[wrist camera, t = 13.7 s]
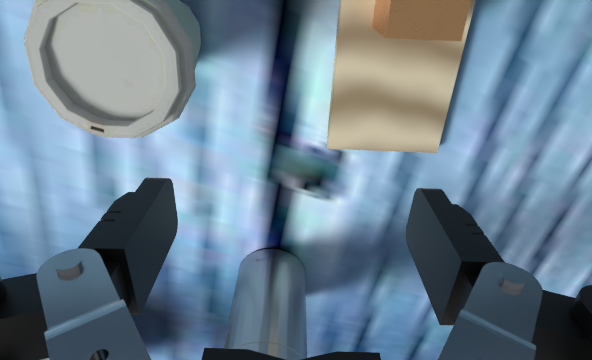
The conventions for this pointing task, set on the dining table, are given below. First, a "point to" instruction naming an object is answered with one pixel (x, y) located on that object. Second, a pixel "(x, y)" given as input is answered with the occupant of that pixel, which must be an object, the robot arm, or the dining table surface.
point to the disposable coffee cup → (114, 62)
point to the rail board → (389, 85)
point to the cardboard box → (421, 19)
